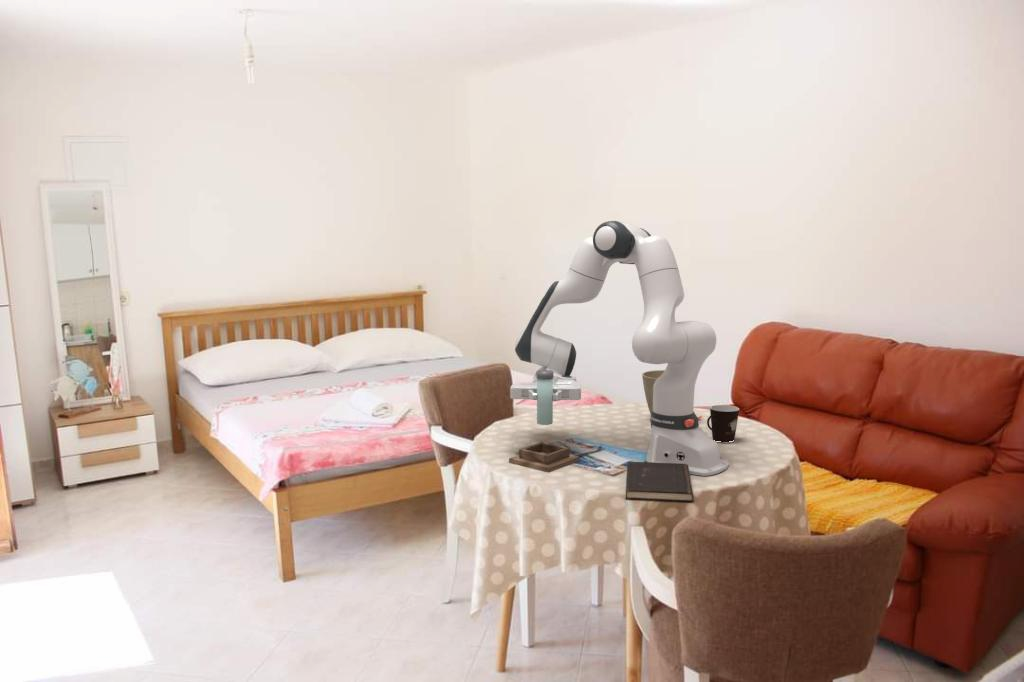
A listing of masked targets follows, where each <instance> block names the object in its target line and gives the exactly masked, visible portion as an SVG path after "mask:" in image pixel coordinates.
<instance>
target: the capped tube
mask: <svg viewBox="0 0 1024 682" xmlns="http://www.w3.org/2000/svg"><path fill="white" fill-rule="evenodd" d="M538 370H539V369H538ZM538 370H536V372H535V374H536V378H537V400H536V424H538V425H540V426H541V425H543V426H548V425H552V424H554V423H553V416H554V415H553V414H554V413H553V412H554V411H553V409H554V408H553V407H554V405H553V404H554V403H553V402H554V401H553V400H552V398H553V397H552V396H553V377H554V372H553V371H551V370H539V371H538Z"/></svg>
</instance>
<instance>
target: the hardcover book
mask: <svg viewBox="0 0 1024 682" xmlns="http://www.w3.org/2000/svg"><path fill="white" fill-rule="evenodd" d="M691 480H692V479H691V474H689V468H688V465H687V464H679V463H654V462H647V461H627V464H626V480H625V500H636V501H639V500H640V501H657V502H658V501H660V502H679V503H691V502H692V501H693V500H694V494H693V487H692V481H691Z"/></svg>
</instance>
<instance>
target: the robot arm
mask: <svg viewBox="0 0 1024 682" xmlns="http://www.w3.org/2000/svg"><path fill="white" fill-rule="evenodd" d="M572 258H573V259H572V261H571V264H570V266H569V268H568V271H567V272H566V274H565V275H564V276H563V277H562V279H560V280H557V281H554V282H553V283H552V284H551V285H550V286H549V287H548V289H547V291H546V292H545V294H544V295H543V297H542V298H541V300H540V302H539V304H538V305H537V307H536V309H535V311H534V312H533V314H532V316H531V318H530V320H529V321H528V324H527V326H526V327H525V328H524V330H523V331H522V332H521V333H520V334H519V336H518V338H517V340H516V341H515V346H514V351H515V353H516V355H517V357H518V359H519V360H520V361H521V362H522V361H523V362H526V363H530V364H534V365H537V366H540V367H539V368H538V370H537V371H539V370H551V371H553V372H554V377H553V396H552V397H553V398H552V400H553V402H559V401H565V400H567V401H580V400H582V387H581V384H580V382H579V381H577V378H576V376H572V373H573V370H574V367H575V363H576V360H577V350H576V347H575V345H574V344H573V343H572V342H570V341H567V340H564V339H562V338H558V337H555V336H552V335H550V334H547V333H544V332H542V331H541V328H542V326H543V325H544V323H545V321H546V320H547V318H548V316H549V314H550V312H551V311H552V310H553V308H555V307H557V306H559V305H564V304H565V305H566V304H584V303H588V302H591V301H593V300H594V299H596V298H597V297H598V296H599V294H600V293H601V291H602V288H603V286H604V284H605V282H606V279H607V276H608V272H609V271H610V268H611V266H612V265H614V264H615V263H619V264H623V265H624V264H625V265H626V264H627V265H635V267H636V271H637V275H638V279H639V284H640V289H641V293H642V298H643V299H642V300H643V317H642V320H641V323H640V326H639V327H638V328H637V330H636V331H635V332H634V334H633V336H632V338H631V339H632V340H631V348H632V352H633V355H634V356H635V357H636V359H637V360H638V361H640V362H641V363H645V364H652V365H663V364H665V365H666V364H667V365H666V367H665V369H664V370H665V371H664V373H663V374H662V375H661V376H660V377H659V378H657V380H656V381H655V383H654V386H653V410H652V411H651V414H650V428H651V431H650V433H651V434H650V441H649V447H648V451H647V453H646V457H645V462H654V463H679V464H687V465H688V468H689V474H690V475H694V476H695V475H696V476H701V477H702V476H703V477H707V476H712V475H713V476H715V475H716V474H719V473H722V472H724V471H725V470H727V469H728V467H729V462H728V461H727V460H724V459H721V454H720V448H719V443H718V442H715V441H714V440H713V438H712V437H711V436H710V435H709V434H707V432H705V430H703V428H701V427H700V423H699V422H700V421H702V420H703V419H702V418H703V416H702V415H700V416H697V414H696V413H695V410H694V404H695V403H694V401H695V388H696V382H697V379H698V375H699V373H700V370H701V368H702V366H703V365H704V364H705V362H706V360H707V359H708V358H709V356H710V355H712V354H713V352H714V351H715V349H716V345H717V335H716V332H715V330H714V328H713V326H711V325H710V324H708V323H707V322H702V321H698V320H697V321H696V320H685V321H677V320H676V315H675V313H676V309H677V308H678V307H679V306H680V305H681V304H682V302H683V301H684V299H685V292H684V286H683V284H682V283H683V282H682V278H681V275H680V271H679V267H678V266H679V265H678V263H677V259H676V257H675V255H674V252H673V250H672V247H671V245H670V242H669V241H668V240H667V239H666V238H665V237H663V236H661V235H652V234H651V233H650V232H649V231H647V230H645V229H644V228H641V227H638V226H636V225H634V224H631V223H627V222H622V221H621V222H620V221H617V220H609V221H605V222H602V223H601V224H599V225H598V226H597V227H596V229H595V230H594V232H593V235H592V236H590V237H589V236H588V237H586V238H584V239H583V241H582V242H581V243H580V245H579V246H578V248H577V251H575V255H574V256H573V257H572ZM509 393H510V394H509V395H510V399H512V400H532V401H537V378H536V373H535V374H534V376H533V380H532V382H515V383H513V384H511V386H510V388H509Z"/></svg>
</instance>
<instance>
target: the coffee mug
mask: <svg viewBox="0 0 1024 682" xmlns="http://www.w3.org/2000/svg"><path fill="white" fill-rule="evenodd" d="M709 412H710V416H708V417H707V420H706V425H707V427H708V428H709V430H710V431H711V436H712V437H711V438H712V439H713V440H715V441H721V442H729V441H733V440H734V441H735V438H736V433H737V431H736V430H737V426H738V419H739V413H740V408H739V407H737V406H734V405H729V404H728V405H727V404H717V405H716V404H715V405H710V407H709ZM710 423H711V424H710Z"/></svg>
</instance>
